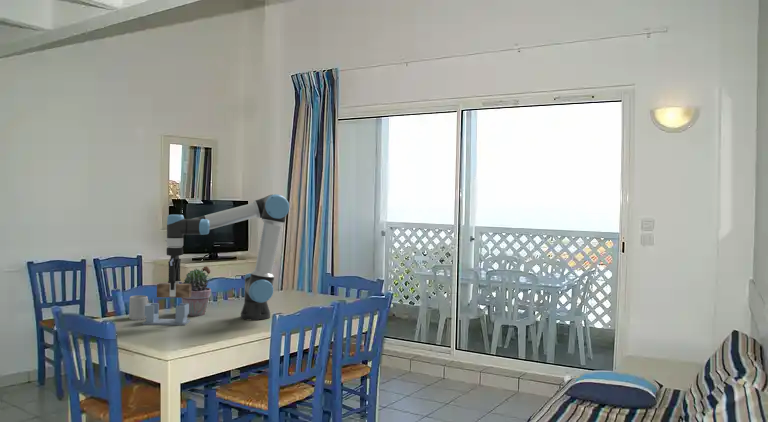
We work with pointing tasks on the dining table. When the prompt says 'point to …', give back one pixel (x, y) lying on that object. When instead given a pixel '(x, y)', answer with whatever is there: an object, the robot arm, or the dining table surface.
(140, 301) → the mug
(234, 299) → the dining table surface
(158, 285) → the tapered block
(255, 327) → the dining table surface
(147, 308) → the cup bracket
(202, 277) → the potted plant
